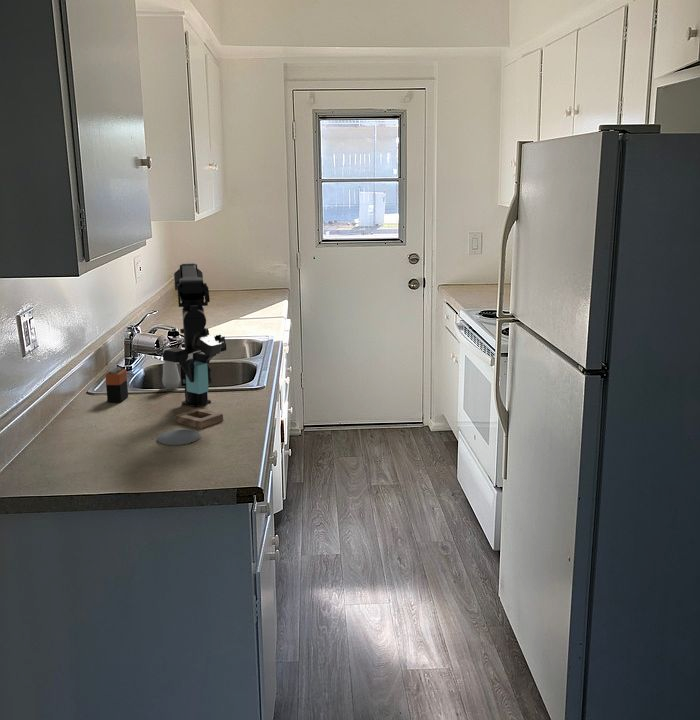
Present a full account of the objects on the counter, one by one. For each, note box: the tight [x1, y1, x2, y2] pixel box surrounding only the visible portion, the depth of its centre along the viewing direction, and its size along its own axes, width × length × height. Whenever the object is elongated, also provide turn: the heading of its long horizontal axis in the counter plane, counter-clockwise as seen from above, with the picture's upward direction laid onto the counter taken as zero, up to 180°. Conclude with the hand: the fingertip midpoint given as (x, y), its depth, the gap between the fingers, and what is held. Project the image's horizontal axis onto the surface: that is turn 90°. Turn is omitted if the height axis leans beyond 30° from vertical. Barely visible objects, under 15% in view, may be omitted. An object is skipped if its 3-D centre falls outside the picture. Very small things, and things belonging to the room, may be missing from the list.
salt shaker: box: [161, 347, 181, 390], centre depth 245 cm, size 6×6×13 cm
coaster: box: [156, 428, 201, 446], centre depth 198 cm, size 11×11×1 cm
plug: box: [186, 361, 210, 394], centre depth 208 cm, size 5×4×8 cm
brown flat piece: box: [175, 407, 224, 429], centre depth 211 cm, size 10×8×2 cm
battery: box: [104, 366, 129, 404], centre depth 232 cm, size 4×7×10 cm, turn 176°
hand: (197, 380), depth 209 cm, fingers closed on plug, 3 cm apart
